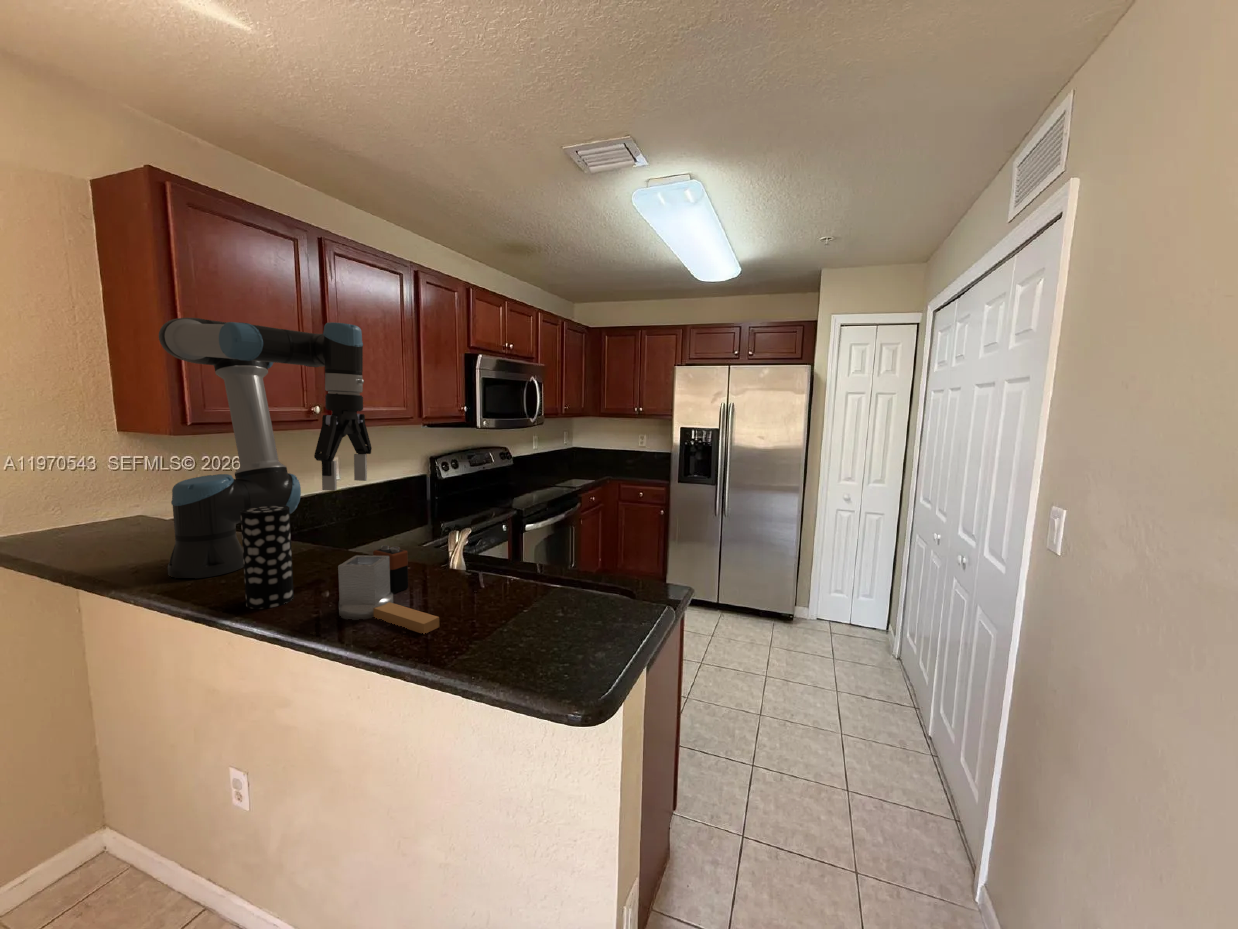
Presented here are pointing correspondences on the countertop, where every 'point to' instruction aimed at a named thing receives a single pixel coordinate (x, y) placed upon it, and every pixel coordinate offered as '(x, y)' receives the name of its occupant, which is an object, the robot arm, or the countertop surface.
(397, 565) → the battery
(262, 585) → the white-spotted black cylinder
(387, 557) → the recessed metal cube
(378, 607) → the ratchet
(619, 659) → the countertop surface
